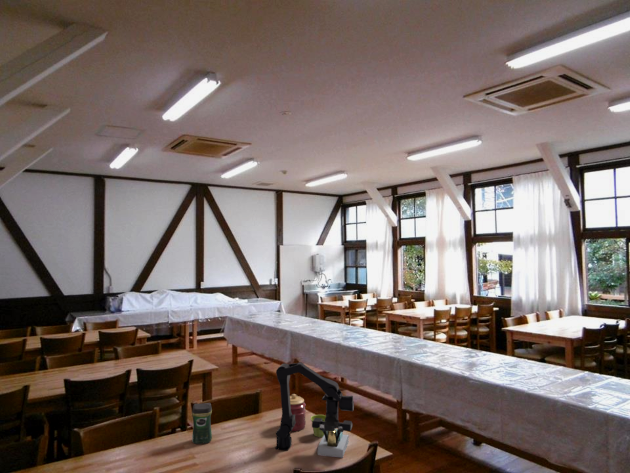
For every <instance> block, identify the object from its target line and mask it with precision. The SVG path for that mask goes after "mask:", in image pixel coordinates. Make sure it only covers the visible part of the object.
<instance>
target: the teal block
mask: <svg viewBox="0 0 630 473" xmlns="http://www.w3.org/2000/svg"><path fill="white" fill-rule="evenodd" d="M335 430H338V428H336V429H335ZM343 434H344V431H343V432H341V433H340V436H339V439H338V440H339V441H340V440H341V438H342V435H343Z"/></svg>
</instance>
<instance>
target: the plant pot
mask: <svg viewBox="0 0 630 473" xmlns="http://www.w3.org/2000/svg"><path fill="white" fill-rule="evenodd" d="M325 417H326V414H325V415H324V414H316V415H315V414H314V415H312V416H311V417H310V421H311V423H312V422H313V420H314V419H315V418H322V421H325ZM319 428H320V427H319ZM319 428H313V427H312V431H313V436H314V437H318V438H323V436H324V433H323V431H322V430H320V429H319Z"/></svg>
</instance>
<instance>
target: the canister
mask: <svg viewBox="0 0 630 473" xmlns="http://www.w3.org/2000/svg"><path fill="white" fill-rule="evenodd" d="M290 405H291V413H292V415H294V414H295V421H296V423H295V425H294V427H293V429H292V430H291V432H297V431H302V430H304V429H305V428H306V425H307V424H306V412H307V411H306V403H305V399H304V398H303V397H301V396H300V395H299V396H298V395H297V394H295V393H292V394H291V395H290Z"/></svg>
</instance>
